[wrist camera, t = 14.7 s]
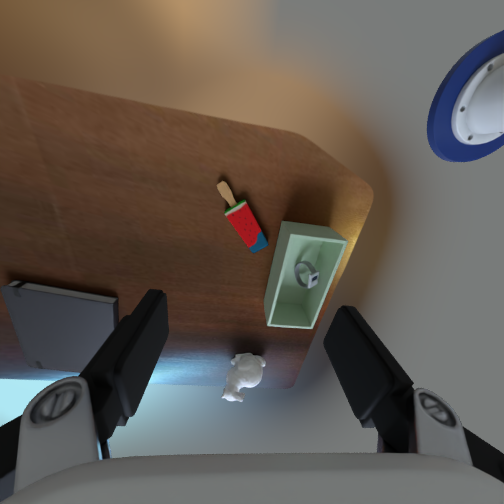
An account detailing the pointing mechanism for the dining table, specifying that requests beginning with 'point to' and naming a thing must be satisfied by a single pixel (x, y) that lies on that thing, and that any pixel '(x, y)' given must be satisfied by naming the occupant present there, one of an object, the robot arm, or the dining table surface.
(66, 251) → the dining table surface
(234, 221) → the popsicle
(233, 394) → the rabbit
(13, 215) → the dining table surface
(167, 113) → the dining table surface
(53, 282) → the dining table surface
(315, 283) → the wristwatch
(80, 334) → the notebook
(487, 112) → the robot arm
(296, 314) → the bin
